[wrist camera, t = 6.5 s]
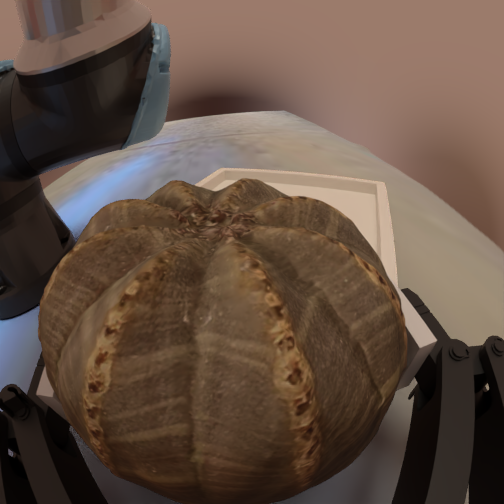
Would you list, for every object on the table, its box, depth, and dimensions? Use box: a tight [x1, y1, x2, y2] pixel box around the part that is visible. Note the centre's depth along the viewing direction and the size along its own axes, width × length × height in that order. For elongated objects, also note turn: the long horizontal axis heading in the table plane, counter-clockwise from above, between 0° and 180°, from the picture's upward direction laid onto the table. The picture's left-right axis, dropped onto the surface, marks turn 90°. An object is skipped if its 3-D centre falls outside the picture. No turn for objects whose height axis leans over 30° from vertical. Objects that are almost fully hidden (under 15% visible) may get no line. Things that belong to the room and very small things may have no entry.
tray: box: [195, 168, 398, 286], centre depth 29 cm, size 24×24×2 cm
